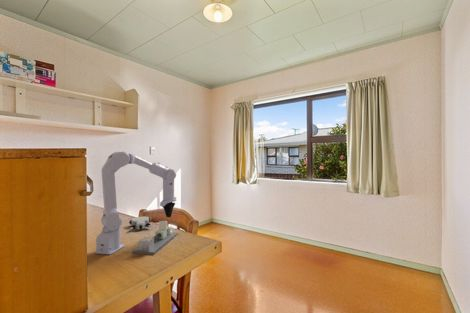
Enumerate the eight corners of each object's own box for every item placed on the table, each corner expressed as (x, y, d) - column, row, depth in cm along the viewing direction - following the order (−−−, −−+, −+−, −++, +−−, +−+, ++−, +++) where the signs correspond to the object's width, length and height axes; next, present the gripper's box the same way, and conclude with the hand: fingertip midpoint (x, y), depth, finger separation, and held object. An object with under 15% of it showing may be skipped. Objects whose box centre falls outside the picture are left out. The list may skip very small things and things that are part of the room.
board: (154, 254, 95) (154, 243, 95) (132, 252, 97) (132, 242, 97) (177, 234, 118) (177, 225, 118) (160, 233, 120) (160, 224, 120)
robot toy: (152, 231, 127) (150, 221, 140) (152, 223, 126) (150, 214, 140) (128, 234, 122) (129, 224, 135) (128, 226, 121) (129, 217, 135)
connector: (149, 251, 96) (149, 241, 96) (138, 250, 97) (138, 240, 97) (155, 246, 101) (155, 236, 101) (145, 245, 102) (145, 236, 102)
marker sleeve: (163, 239, 109) (162, 224, 109) (155, 238, 109) (155, 223, 109) (167, 235, 113) (167, 221, 113) (160, 235, 114) (160, 220, 114)
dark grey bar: (147, 246, 98) (147, 243, 98) (144, 246, 98) (144, 243, 98) (168, 230, 117) (168, 228, 117) (166, 230, 117) (166, 228, 117)
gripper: (169, 194, 111) (169, 221, 111) (181, 189, 125) (181, 213, 125) (156, 193, 112) (156, 220, 112) (169, 189, 126) (169, 213, 126)
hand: (168, 216), depth 119 cm, fingers closed
